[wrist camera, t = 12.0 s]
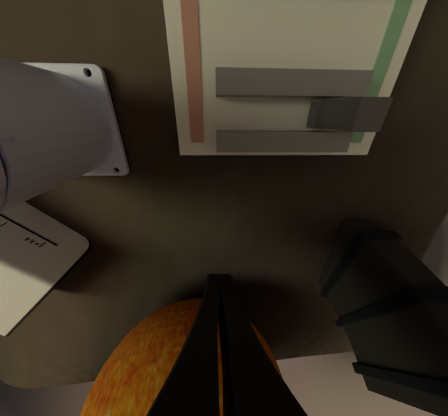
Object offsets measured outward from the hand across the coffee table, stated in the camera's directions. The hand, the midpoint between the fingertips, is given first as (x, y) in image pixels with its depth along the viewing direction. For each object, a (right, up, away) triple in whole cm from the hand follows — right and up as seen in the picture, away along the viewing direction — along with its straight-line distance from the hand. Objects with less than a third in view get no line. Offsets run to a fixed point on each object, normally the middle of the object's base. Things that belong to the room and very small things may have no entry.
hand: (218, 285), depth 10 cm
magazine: (+15, -2, +13) cm, 20 cm away
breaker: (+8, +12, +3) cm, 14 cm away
